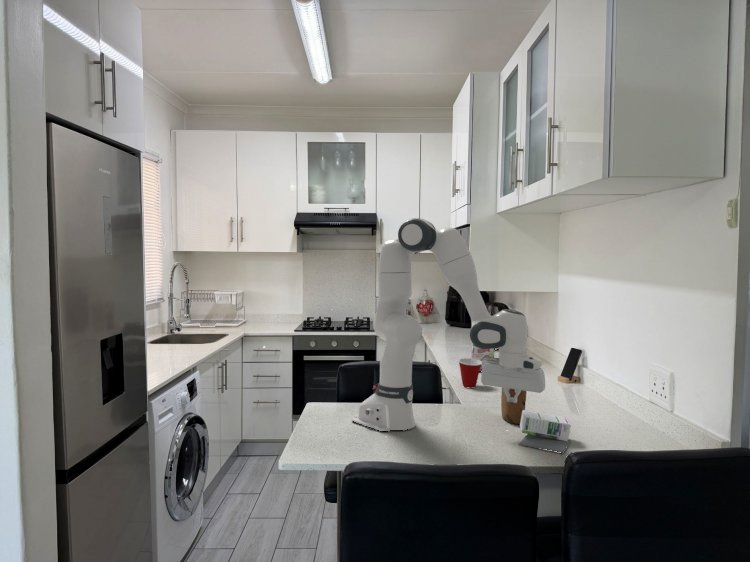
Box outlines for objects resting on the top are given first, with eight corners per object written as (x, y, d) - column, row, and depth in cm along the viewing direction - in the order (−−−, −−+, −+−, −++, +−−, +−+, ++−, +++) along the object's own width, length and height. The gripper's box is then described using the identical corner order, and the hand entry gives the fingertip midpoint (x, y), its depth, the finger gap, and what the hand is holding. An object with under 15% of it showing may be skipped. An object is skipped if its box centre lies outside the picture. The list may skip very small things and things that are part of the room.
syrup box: (524, 415, 156) (571, 424, 154) (522, 409, 162) (567, 417, 159) (521, 432, 157) (568, 442, 154) (519, 425, 162) (564, 434, 160)
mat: (519, 445, 152) (519, 443, 152) (529, 433, 163) (529, 432, 163) (562, 454, 146) (563, 452, 146) (570, 441, 156) (570, 440, 156)
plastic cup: (470, 391, 215) (470, 363, 214) (452, 385, 224) (453, 359, 223) (487, 387, 221) (487, 361, 221) (469, 382, 230) (469, 357, 229)
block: (500, 415, 182) (501, 361, 181) (520, 415, 182) (521, 362, 181) (505, 424, 171) (507, 368, 170) (527, 425, 171) (529, 368, 170)
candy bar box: (472, 372, 251) (473, 340, 250) (470, 370, 256) (471, 339, 255) (494, 372, 251) (495, 340, 250) (492, 370, 256) (492, 339, 255)
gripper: (478, 357, 162) (477, 399, 162) (542, 365, 151) (541, 409, 151) (484, 354, 167) (484, 394, 168) (547, 361, 156) (546, 404, 157)
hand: (511, 401), depth 159 cm, fingers closed
